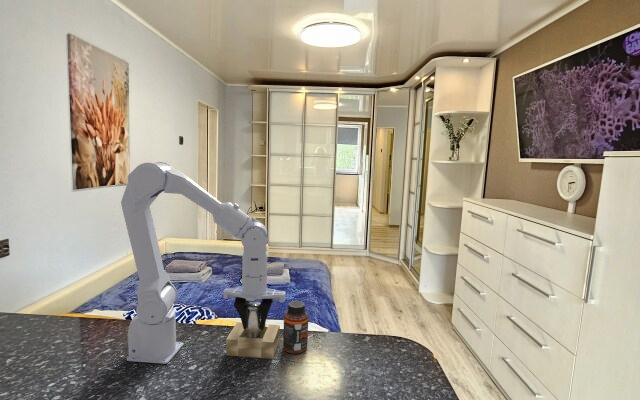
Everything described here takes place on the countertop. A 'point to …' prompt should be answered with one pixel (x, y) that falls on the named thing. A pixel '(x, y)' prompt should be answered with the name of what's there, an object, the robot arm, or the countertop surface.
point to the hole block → (253, 342)
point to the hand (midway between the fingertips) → (254, 327)
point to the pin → (253, 320)
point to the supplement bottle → (295, 328)
